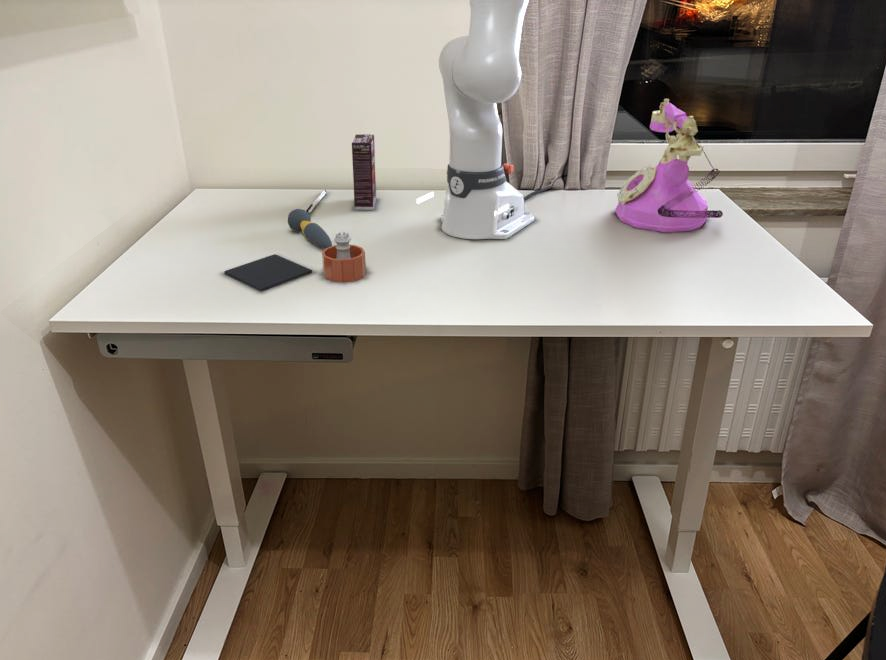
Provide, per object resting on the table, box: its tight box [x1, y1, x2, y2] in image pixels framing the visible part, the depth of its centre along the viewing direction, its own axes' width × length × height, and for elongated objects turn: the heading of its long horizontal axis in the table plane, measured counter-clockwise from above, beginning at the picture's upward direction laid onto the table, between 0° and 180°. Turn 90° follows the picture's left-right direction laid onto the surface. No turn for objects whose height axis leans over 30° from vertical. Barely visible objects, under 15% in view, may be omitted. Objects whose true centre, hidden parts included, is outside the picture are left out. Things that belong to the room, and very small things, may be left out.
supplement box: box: [351, 133, 377, 211], centre depth 177 cm, size 9×5×16 cm, turn 179°
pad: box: [224, 253, 313, 292], centre depth 145 cm, size 12×12×1 cm
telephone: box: [615, 98, 724, 233], centre depth 162 cm, size 36×22×25 cm, turn 178°
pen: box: [305, 189, 327, 215], centre depth 181 cm, size 1×19×1 cm, turn 173°
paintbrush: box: [287, 208, 333, 250], centre depth 160 cm, size 20×5×5 cm, turn 38°
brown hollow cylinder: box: [321, 244, 367, 283], centre depth 143 cm, size 8×8×4 cm
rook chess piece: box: [333, 231, 352, 259], centre depth 142 cm, size 4×4×8 cm
